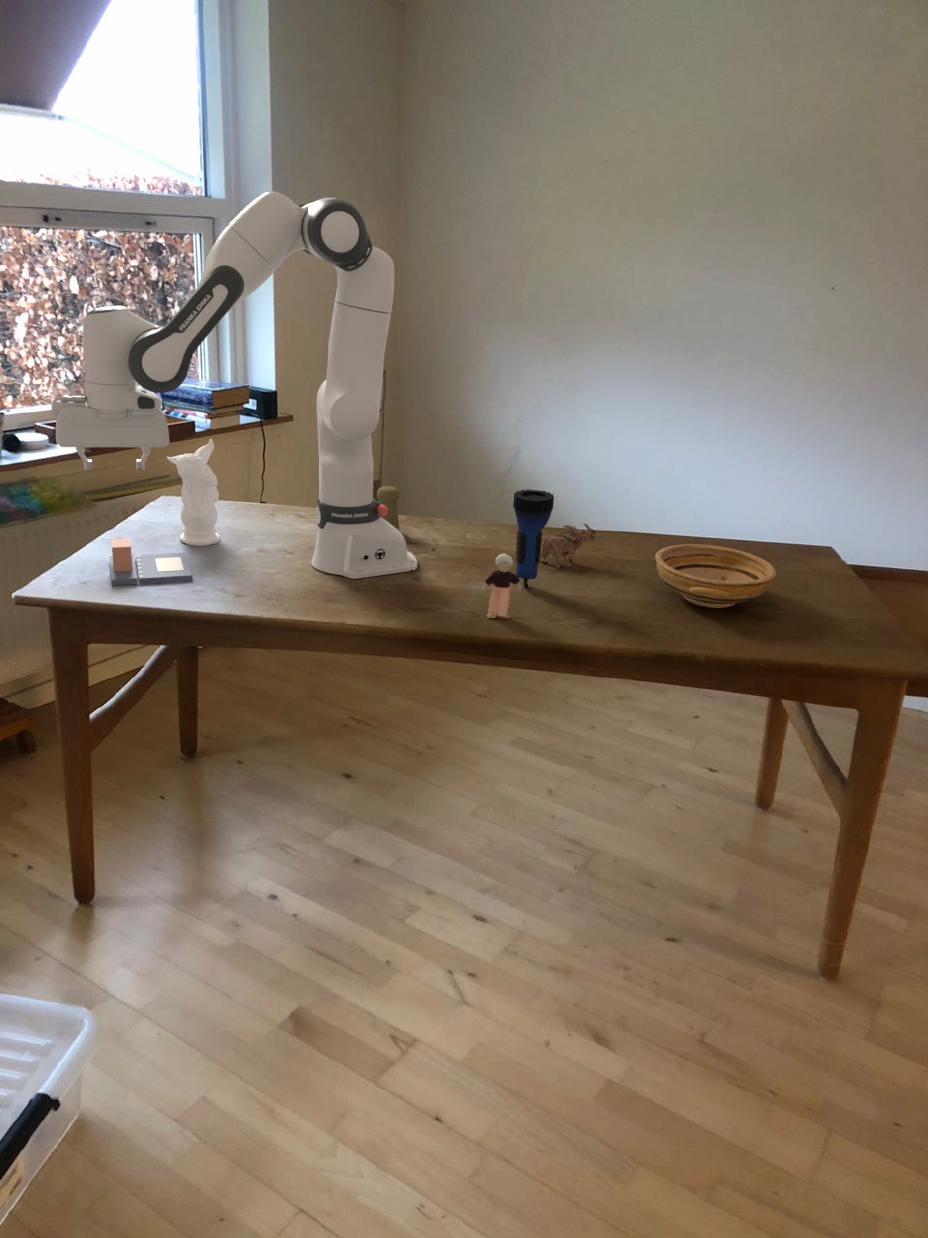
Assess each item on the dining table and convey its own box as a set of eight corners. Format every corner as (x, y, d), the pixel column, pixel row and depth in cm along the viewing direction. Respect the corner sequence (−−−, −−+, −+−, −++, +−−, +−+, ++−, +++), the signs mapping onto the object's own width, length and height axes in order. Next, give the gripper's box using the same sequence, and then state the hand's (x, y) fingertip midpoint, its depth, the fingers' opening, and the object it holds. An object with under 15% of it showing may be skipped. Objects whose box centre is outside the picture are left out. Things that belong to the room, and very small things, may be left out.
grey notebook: (185, 557, 202) (185, 551, 201) (192, 580, 190) (192, 574, 189) (135, 560, 198) (135, 554, 198) (139, 584, 186) (138, 578, 186)
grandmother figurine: (485, 622, 179) (490, 558, 174) (477, 614, 182) (482, 551, 177) (522, 618, 182) (528, 555, 177) (513, 610, 185) (519, 548, 180)
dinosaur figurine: (578, 556, 218) (582, 517, 215) (592, 565, 214) (597, 525, 210) (526, 562, 213) (530, 522, 209) (539, 570, 208) (543, 530, 204)
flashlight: (517, 597, 192) (525, 501, 184) (499, 583, 199) (507, 490, 191) (551, 593, 195) (561, 498, 188) (533, 579, 202) (541, 488, 194)
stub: (133, 560, 198) (131, 531, 196) (137, 583, 186) (134, 553, 184) (110, 561, 196) (107, 532, 194) (112, 585, 184) (109, 555, 182)
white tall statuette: (199, 550, 207) (193, 450, 198) (154, 540, 211) (146, 442, 202) (234, 535, 217) (230, 440, 208) (191, 526, 221) (185, 431, 213)
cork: (395, 537, 223) (397, 491, 219) (371, 534, 224) (372, 488, 220) (402, 530, 228) (404, 485, 224) (378, 527, 229) (379, 482, 225)
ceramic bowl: (768, 634, 182) (776, 595, 179) (641, 613, 188) (647, 575, 185) (769, 584, 208) (776, 550, 205) (657, 567, 214) (662, 533, 211)
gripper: (50, 398, 171) (56, 474, 176) (169, 400, 179) (171, 473, 184) (50, 392, 176) (55, 465, 182) (165, 394, 184) (167, 464, 189)
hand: (114, 469), depth 183 cm, fingers open, 8 cm apart
